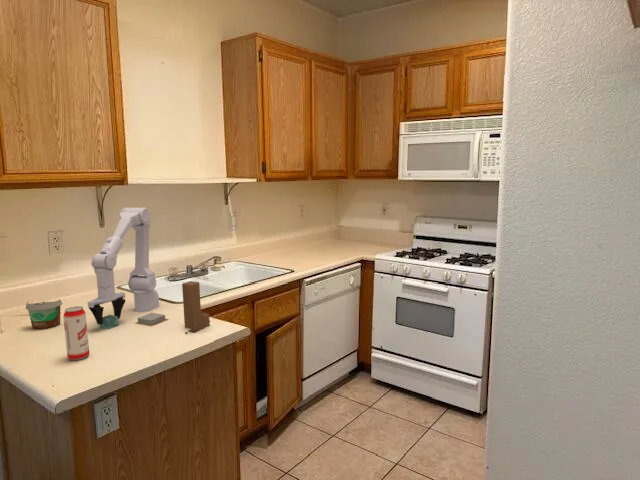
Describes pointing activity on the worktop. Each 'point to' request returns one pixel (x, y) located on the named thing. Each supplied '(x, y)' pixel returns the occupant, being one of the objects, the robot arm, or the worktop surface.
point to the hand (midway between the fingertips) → (108, 321)
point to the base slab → (151, 325)
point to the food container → (44, 314)
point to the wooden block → (193, 307)
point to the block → (109, 322)
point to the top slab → (151, 318)
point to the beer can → (76, 333)
